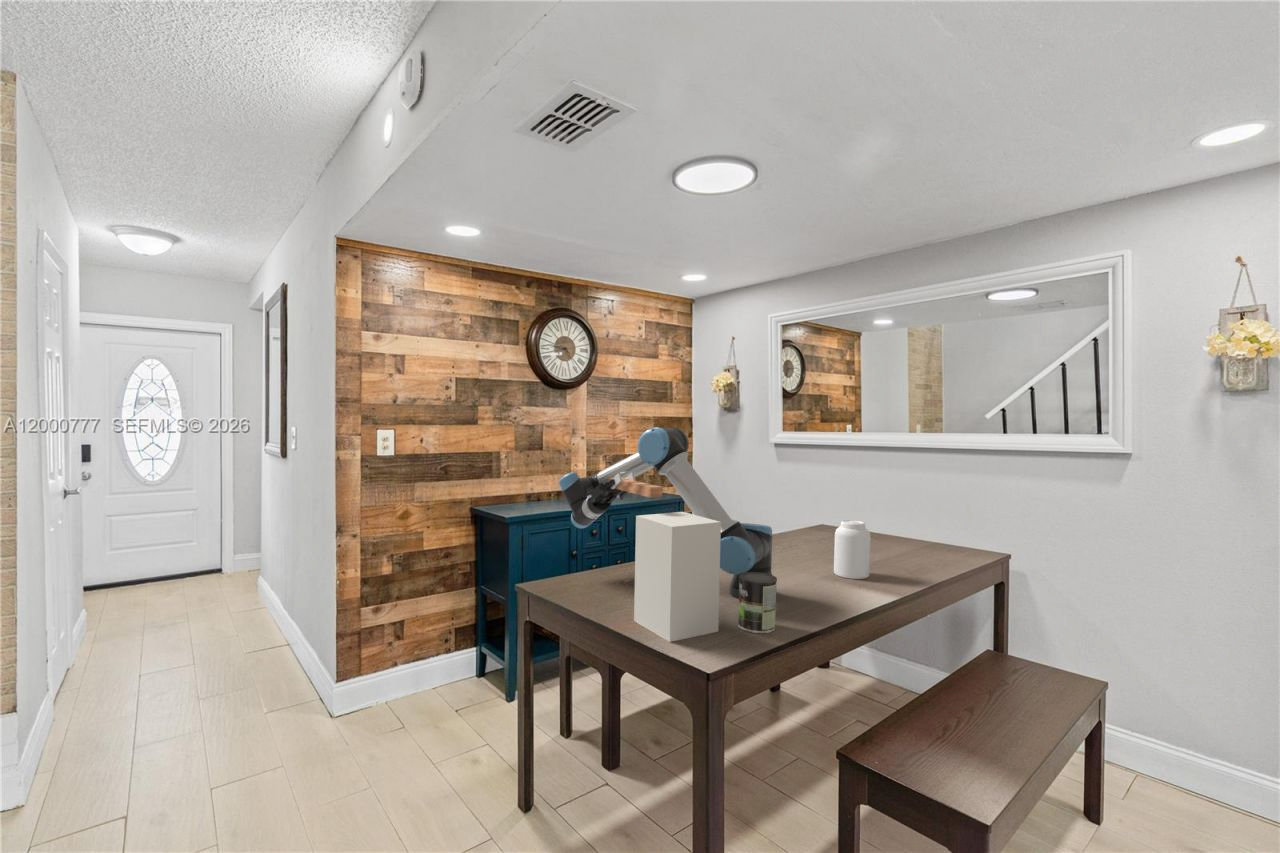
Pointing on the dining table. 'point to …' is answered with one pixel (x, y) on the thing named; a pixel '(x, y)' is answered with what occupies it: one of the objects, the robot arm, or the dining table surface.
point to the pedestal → (677, 574)
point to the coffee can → (757, 602)
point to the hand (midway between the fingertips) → (626, 476)
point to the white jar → (852, 550)
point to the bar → (639, 488)
